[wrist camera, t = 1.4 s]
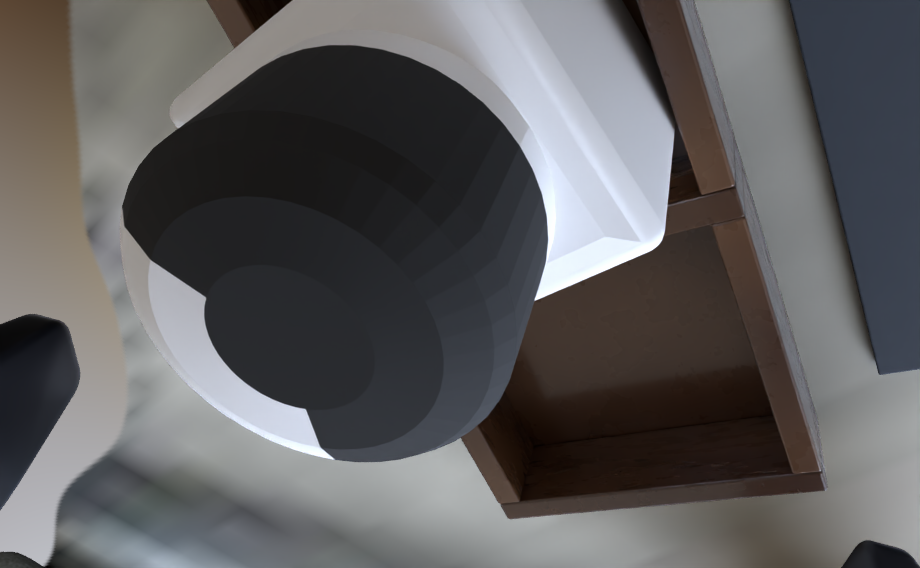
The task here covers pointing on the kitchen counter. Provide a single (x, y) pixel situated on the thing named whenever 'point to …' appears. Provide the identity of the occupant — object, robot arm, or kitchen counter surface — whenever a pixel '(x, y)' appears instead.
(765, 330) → the holder
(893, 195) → the mat
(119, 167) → the kitchen counter surface
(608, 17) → the medicine bottle
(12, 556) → the plush elephant
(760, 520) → the kitchen counter surface
